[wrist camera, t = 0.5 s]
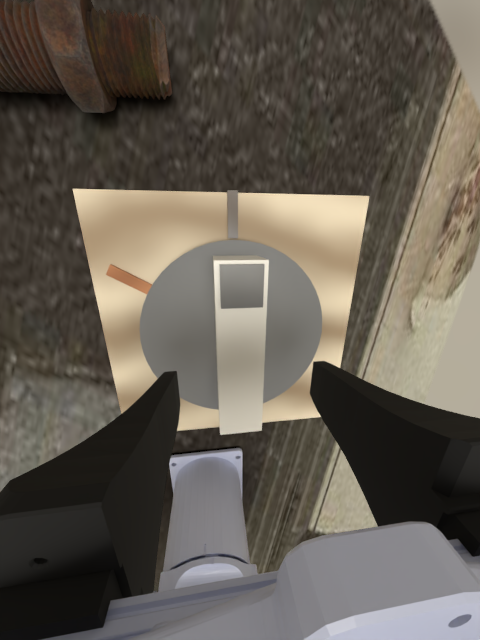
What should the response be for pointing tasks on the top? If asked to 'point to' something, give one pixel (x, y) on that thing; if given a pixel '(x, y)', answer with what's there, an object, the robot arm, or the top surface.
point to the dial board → (199, 229)
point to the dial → (232, 328)
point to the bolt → (82, 53)
